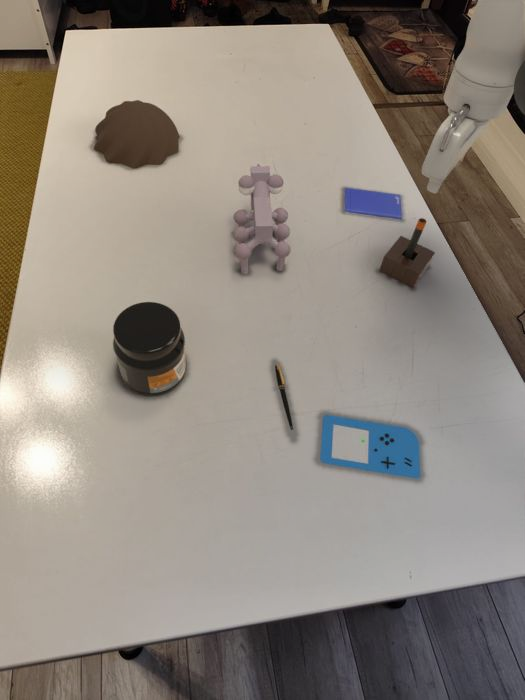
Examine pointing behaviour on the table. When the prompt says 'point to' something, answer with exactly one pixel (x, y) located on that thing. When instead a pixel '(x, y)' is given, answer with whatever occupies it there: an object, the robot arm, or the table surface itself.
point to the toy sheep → (261, 217)
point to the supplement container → (149, 348)
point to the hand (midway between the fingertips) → (444, 176)
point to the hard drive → (373, 203)
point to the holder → (406, 262)
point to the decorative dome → (136, 135)
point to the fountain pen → (283, 394)
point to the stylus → (415, 238)
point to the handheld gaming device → (376, 447)
